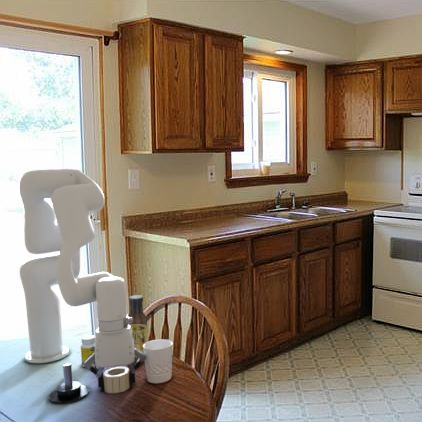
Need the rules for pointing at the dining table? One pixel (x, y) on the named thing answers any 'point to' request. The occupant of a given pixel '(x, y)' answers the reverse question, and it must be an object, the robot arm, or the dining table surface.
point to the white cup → (158, 360)
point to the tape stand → (68, 389)
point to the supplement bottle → (87, 348)
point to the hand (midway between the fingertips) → (117, 386)
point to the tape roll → (116, 379)
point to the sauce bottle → (138, 323)
